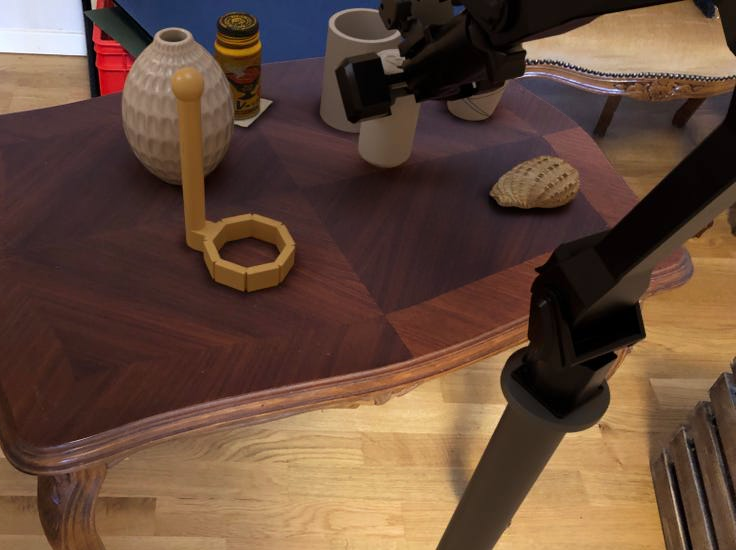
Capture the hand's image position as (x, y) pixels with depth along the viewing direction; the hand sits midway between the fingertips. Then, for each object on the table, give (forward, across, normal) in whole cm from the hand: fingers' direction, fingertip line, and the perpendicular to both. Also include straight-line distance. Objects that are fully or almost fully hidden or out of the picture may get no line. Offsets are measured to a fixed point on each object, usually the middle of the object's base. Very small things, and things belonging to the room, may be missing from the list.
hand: (385, 100), depth 82 cm
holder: (0, +23, +13) cm, 26 cm away
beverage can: (+4, 0, +6) cm, 7 cm away
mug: (+12, -18, +1) cm, 21 cm away
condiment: (+19, +12, -7) cm, 24 cm away
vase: (+12, +23, +1) cm, 26 cm away
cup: (+14, -3, -2) cm, 14 cm away
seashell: (-3, -13, +16) cm, 21 cm away
